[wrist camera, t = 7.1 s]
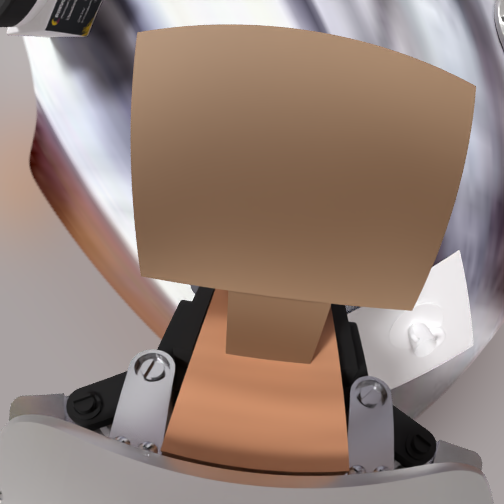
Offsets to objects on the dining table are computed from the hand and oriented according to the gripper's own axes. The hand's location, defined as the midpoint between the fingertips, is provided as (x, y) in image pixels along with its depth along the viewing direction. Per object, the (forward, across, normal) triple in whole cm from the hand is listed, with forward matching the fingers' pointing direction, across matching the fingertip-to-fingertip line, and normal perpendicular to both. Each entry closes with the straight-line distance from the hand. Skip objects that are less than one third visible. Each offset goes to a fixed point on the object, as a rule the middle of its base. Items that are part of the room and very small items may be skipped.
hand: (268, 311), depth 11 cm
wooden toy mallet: (+1, 0, +3) cm, 3 cm away
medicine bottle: (+16, +23, -20) cm, 35 cm away
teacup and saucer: (+16, -20, +17) cm, 31 cm away
